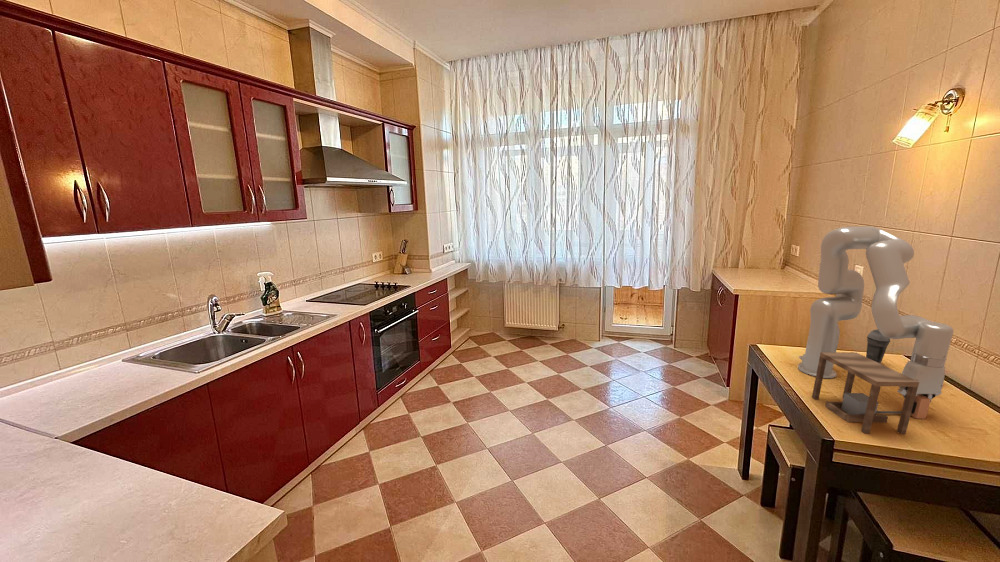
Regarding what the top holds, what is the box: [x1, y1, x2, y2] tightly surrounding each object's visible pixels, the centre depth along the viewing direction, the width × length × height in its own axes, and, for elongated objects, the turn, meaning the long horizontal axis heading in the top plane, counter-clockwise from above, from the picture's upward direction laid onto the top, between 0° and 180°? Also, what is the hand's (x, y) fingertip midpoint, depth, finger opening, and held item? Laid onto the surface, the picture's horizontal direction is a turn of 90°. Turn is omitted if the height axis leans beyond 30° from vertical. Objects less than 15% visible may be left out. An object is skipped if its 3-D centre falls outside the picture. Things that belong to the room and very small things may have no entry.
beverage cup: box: [865, 328, 891, 364], centre depth 170 cm, size 7×7×20 cm
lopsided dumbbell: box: [840, 392, 932, 419], centre depth 133 cm, size 6×23×7 cm, turn 89°
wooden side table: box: [811, 351, 919, 435], centre depth 132 cm, size 22×13×18 cm, turn 179°
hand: (914, 410), depth 134 cm, fingers closed on lopsided dumbbell, 3 cm apart
